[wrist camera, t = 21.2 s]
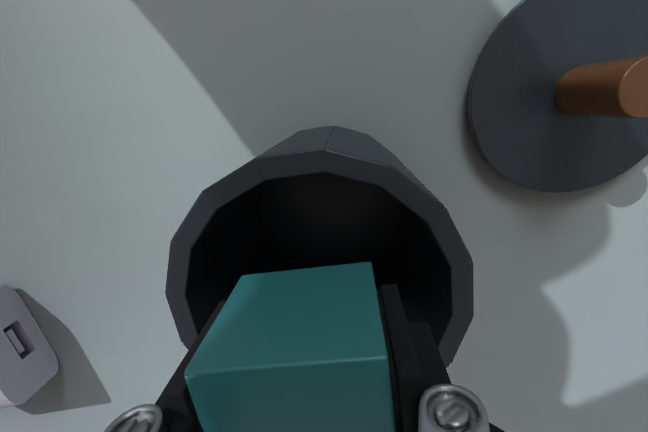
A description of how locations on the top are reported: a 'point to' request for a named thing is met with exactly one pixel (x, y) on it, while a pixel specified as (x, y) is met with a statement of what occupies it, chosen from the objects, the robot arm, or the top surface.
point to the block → (296, 355)
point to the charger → (21, 351)
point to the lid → (563, 93)
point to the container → (323, 232)
